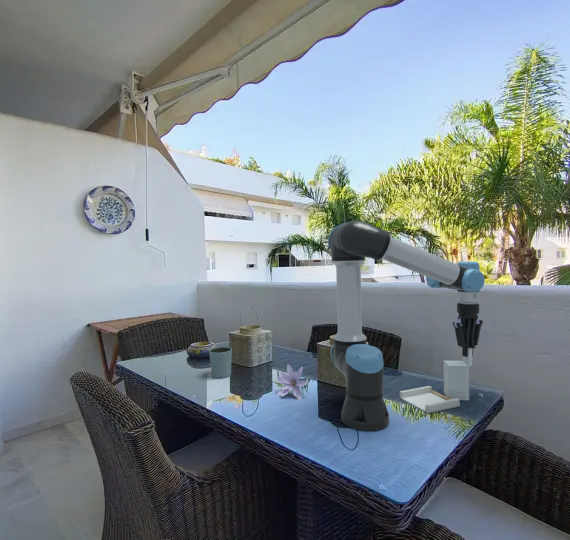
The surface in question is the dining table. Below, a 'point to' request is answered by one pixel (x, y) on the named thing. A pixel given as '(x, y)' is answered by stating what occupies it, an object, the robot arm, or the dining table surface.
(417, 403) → the cradle
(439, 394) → the stop batten
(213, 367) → the grey-green cup
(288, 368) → the water lily
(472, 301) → the robot arm
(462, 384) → the supplement box
